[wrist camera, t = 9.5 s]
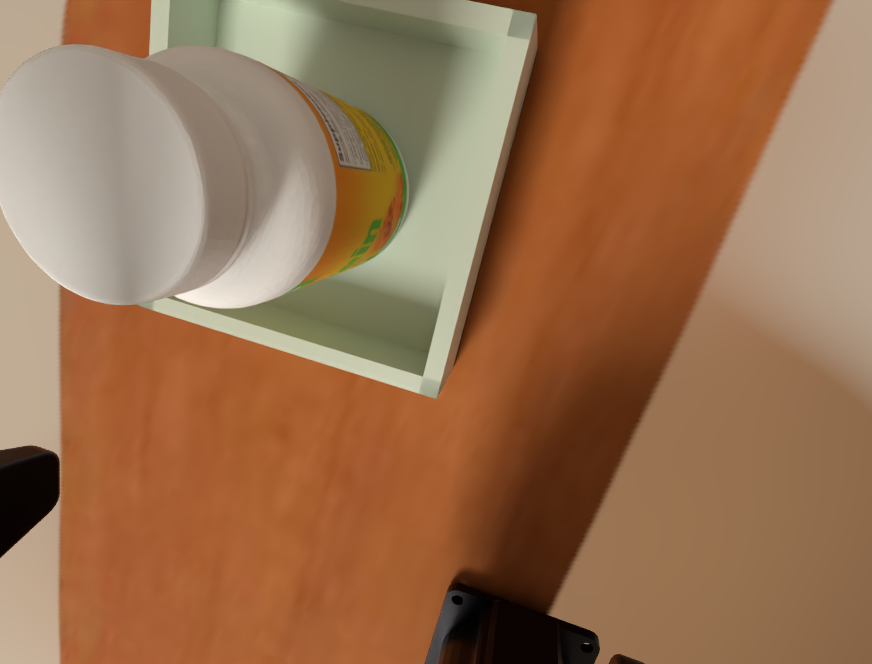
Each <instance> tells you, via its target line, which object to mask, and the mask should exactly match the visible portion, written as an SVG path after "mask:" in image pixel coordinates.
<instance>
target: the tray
mask: <svg viewBox="0 0 872 664" xmlns="http://www.w3.org/2000/svg"><path fill="white" fill-rule="evenodd" d="M187 45H201V46H212V47H217V48H222V49H226V50H229V51H232V52H235V53H238V54H241V55H244V56H247V57H249V58H252V59H254V60H256V61H259V62H261V63H263V64H265V65H267V66H269V67H271V68H273V69H275V70H278V71H280V72H282V73H284V74H286V75H288V76H290V77H293V78H295V79H297V80H299V81H301V82H304V83H306V84H308V85H310V86H312V87H315V88H317V89H319V90H321V91H324V92H326V93H328V94H330V95H332V96H334V97H337V98H339V99H341V100H343V101H345V102H347V103H349V104H351V105H353V106H355V107H357V108H359V109H361V110H362V111H364V112H366V113H367V114H369V115H370V116H372V117H373V118H375V119H376V120H377V121H378V122H379V123H380V124H381V125H383V126H384V128H385V129H386V130H387V131H388V132H389V134H390V135H391V136H392V138H393V139H394V141H395V142H396V144H397V146H398V148H399V150H400V152H401V154H402V157H403V160H404V162H405V165H406V169H407V174H408V180H409V201H408V208H407V212H406V215H405V219H404V221H403V224H402V226H401V228H400V230H399V232H398V234H397V235H396V237H395V238H394V240H393V241H392V242H391V244H390V245H389V246H388V247H387V248H386V249H385V250H384V251H383V252H381V253H380V254H379V255H378V256H376V257H375V258H373V259H371V260H369V261H368V262H366V263H363V264H361V265H359V266H357V267H354V268H351V269H349V270H346V271H344V272H341V273H339V274H336V275H333V276H330V277H328V278H325V279H323V280H320V281H317V282H315V283H312V284H310V285H308V286H305V287H302V288H300V289H297V290H295V291H292V292H290V293H287V294H285V295H282V296H280V297H277V298H275V299H272V300H269V301H266V302H263V303H260V304H256V305H252V306H248V307H243V308H211V307H205V306H201V305H197V304H193V303H190V302H187V301H184V300H182V299H179V298H177V297H175V296H170V297H167V298H163V299H159V300H155V301H150V302H146V303H142V304H138V306H141V307H144V308H147V309H150V310H154V311H157V312H160V313H163V314H166V315H170V316H173V317H176V318H179V319H182V320H186V321H189V322H192V323H195V324H198V325H202V326H205V327H208V328H211V329H214V330H218V331H221V332H224V333H227V334H230V335H234V336H237V337H240V338H243V339H246V340H250V341H253V342H256V343H259V344H262V345H266V346H269V347H272V348H275V349H278V350H282V351H285V352H288V353H291V354H294V355H298V356H301V357H304V358H307V359H310V360H314V361H317V362H320V363H323V364H326V365H329V366H333V367H336V368H339V369H342V370H345V371H349V372H352V373H355V374H358V375H361V376H365V377H368V378H371V379H374V380H377V381H381V382H384V383H387V384H390V385H393V386H397V387H400V388H403V389H406V390H409V391H413V392H416V393H419V394H422V395H425V396H429V397H432V398H435V399H437V397H438V395H439V393H440V392H441V390H442V388H443V386H444V384H445V382H446V380H447V378H448V376H449V375H450V373H451V371H452V369H453V366H454V362H455V358H456V355H457V351H458V347H459V343H460V340H461V336H462V332H463V328H464V324H465V321H466V317H467V313H468V309H469V306H470V302H471V298H472V294H473V291H474V287H475V283H476V279H477V276H478V272H479V268H480V264H481V261H482V257H483V253H484V249H485V245H486V242H487V238H488V234H489V230H490V227H491V223H492V219H493V215H494V212H495V208H496V204H497V200H498V197H499V193H500V189H501V185H502V182H503V178H504V174H505V170H506V166H507V163H508V159H509V155H510V151H511V148H512V144H513V140H514V136H515V133H516V129H517V125H518V121H519V118H520V114H521V110H522V106H523V102H524V99H525V95H526V91H527V87H528V84H529V80H530V76H531V72H532V69H533V65H534V61H535V57H536V54H537V50H538V35H537V14H534V13H529V12H524V11H519V10H514V9H509V8H504V7H499V6H494V5H489V4H483V3H478V2H473V1H468V0H152V3H151V26H150V49H149V56H150V55H152V54H154V53H157V52H159V51H162V50H166V49H170V48H174V47H178V46H187Z"/></svg>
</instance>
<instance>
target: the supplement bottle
mask: <svg viewBox="0 0 872 664" xmlns="http://www.w3.org/2000/svg"><path fill="white" fill-rule="evenodd" d="M408 201H409V180H408V174H407V169H406V165H405V162H404V160H403V157H402V154H401V152H400V150H399V148H398V146H397V144H396V142H395V141H394V139H393V138H392V136H391V135H390V134H389V132H388V131H387V130H386V129H385V128H384V126H383V125H381V124H380V123H379V122H378V121H377V120H376V119H375V118H373V117H372V116H370V115H369V114H367V113H366V112H364V111H362V110H361V109H359V108H357V107H355V106H353V105H351V104H349V103H347V102H345V101H343V100H341V99H339V98H337V97H334V96H332V95H330V94H328V93H326V92H324V91H321V90H319V89H317V88H315V87H312V86H310V85H308V84H306V83H304V82H301V81H299V80H297V79H295V78H293V77H290V76H288V75H286V74H284V73H282V72H280V71H278V70H275V69H273V68H271V67H269V66H267V65H265V64H263V63H261V62H259V61H256V60H254V59H252V58H249V57H247V56H244V55H241V54H238V53H235V52H232V51H229V50H226V49H222V48H217V47H212V46H201V45H187V46H178V47H174V48H170V49H166V50H162V51H159V52H157V53H154V54H152V55H150V56H148V57H146V58H144V59H142V58H137V57H134V56H130V55H127V54H123V53H120V52H117V51H113V50H110V49H106V48H102V47H97V46H93V45H82V44H74V45H62V46H57V47H53V48H50V49H47V50H45V51H42V52H40V53H38V54H36V55H34V56H33V57H31V58H30V59H28V60H27V61H25V62H24V63H23V64H22V65H21V66H20V67H19V68H18V69H17V70H16V71H14V73H13V74H12V76H11V77H10V78H9V80H8V81H7V83H6V84H5V86H4V87H3V89H2V91H1V93H0V206H1V208H2V211H3V214H4V216H5V218H6V220H7V222H8V224H9V226H10V228H11V229H12V231H13V233H14V235H15V236H16V238H17V240H18V241H19V242H20V244H21V245H22V247H23V248H24V249H25V251H26V252H27V254H28V255H29V256H30V257H31V259H32V260H33V261H34V262H35V263H36V264H37V265H38V266H39V267H40V268H41V269H42V270H43V271H44V272H45V273H46V274H48V275H49V276H50V277H51V278H52V279H54V280H55V281H56V282H58V283H59V284H60V285H62V286H63V287H65V288H67V289H68V290H70V291H72V292H74V293H76V294H78V295H80V296H82V297H85V298H87V299H91V300H94V301H97V302H102V303H106V304H114V305H134V304H142V303H146V302H150V301H155V300H159V299H163V298H167V297H170V296H175V297H177V298H179V299H182V300H184V301H187V302H190V303H193V304H197V305H201V306H205V307H211V308H243V307H248V306H252V305H256V304H260V303H263V302H266V301H269V300H272V299H275V298H277V297H280V296H282V295H285V294H287V293H290V292H292V291H295V290H297V289H300V288H302V287H305V286H308V285H310V284H312V283H315V282H317V281H320V280H323V279H325V278H328V277H330V276H333V275H336V274H339V273H341V272H344V271H346V270H349V269H351V268H354V267H357V266H359V265H361V264H363V263H366V262H368V261H369V260H371V259H373V258H375V257H376V256H378V255H379V254H380V253H381V252H383V251H384V250H385V249H386V248H387V247H388V246H389V245H390V244H391V242H392V241H393V240H394V238H395V237H396V235H397V234H398V232H399V230H400V228H401V226H402V224H403V221H404V219H405V215H406V212H407V208H408Z"/></svg>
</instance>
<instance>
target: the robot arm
mask: <svg viewBox="0 0 872 664" xmlns="http://www.w3.org/2000/svg"><path fill="white" fill-rule="evenodd" d="M59 494H60V462H59V458H58V456H57V454H55V453H54V452H52V451H49V450H46V449H43V448H41V447H37V446H23V447H17V448H12V449H5V450H0V558H1V557H2V556H3V555H4V554H5V553H6V552H7V551H8V550H10V549H11V548H12V547H13V546H14V545H15V544H16V543H17V542H18V541H19V540H20V539H21V538H22V537H24V536H25V535H26V534H27V533H28V532H29V531H30V530H31V529H32V528H33V527H34V526H35V525H36V524H37V523H38V522H40V521H41V520H42V519H43V518H44V517H45V516H46V515H47V514H48V513H49V512H50V511H51V510H52V509H53V508H54V506H55V505H56V503H57V501H58V499H59ZM455 595H459V596H460V597H462V598H457V597H456V596H455ZM583 643H590V644H588V645H587V644H583ZM599 650H600V646H599V639H598V636H597V635H596V634H595V633H594V632H592V631H590V630H587V629H584V628H581V627H579V626H576V625H573V624H571V623H568V622H565V621H562V620H559V619H557V618H554V617H551V616H549V615H546V614H543V613H540V612H538V611H535V610H532V609H529V608H527V607H524V606H521V605H518V604H516V603H513V602H510V601H507V600H505V599H502V598H499V597H496V596H493V595H491V594H488V593H485V592H482V591H480V590H477V589H474V588H471V587H469V586H466V585H463V584H459V583H455V584H452V585H450V586H449V588H448V590H447V593H446V596H445V600H444V603H443V606H442V609H441V613H440V616H439V619H438V622H437V625H436V629H435V632H434V635H433V638H432V642H431V645H430V648H429V651H428V655H427V658H426V661H425V664H594V663H595V660H596V658H597V656H598V654H599ZM609 664H644V663H643V662H640V661H638V660H635V659H632V658H629V657H626V656H624V655H621V654H616V655H614V656H613V657H612V658H611V660H610V662H609Z"/></svg>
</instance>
